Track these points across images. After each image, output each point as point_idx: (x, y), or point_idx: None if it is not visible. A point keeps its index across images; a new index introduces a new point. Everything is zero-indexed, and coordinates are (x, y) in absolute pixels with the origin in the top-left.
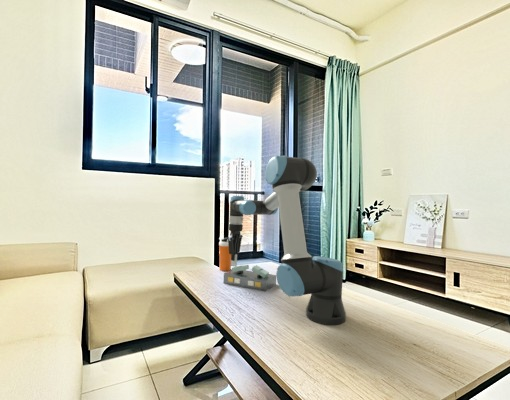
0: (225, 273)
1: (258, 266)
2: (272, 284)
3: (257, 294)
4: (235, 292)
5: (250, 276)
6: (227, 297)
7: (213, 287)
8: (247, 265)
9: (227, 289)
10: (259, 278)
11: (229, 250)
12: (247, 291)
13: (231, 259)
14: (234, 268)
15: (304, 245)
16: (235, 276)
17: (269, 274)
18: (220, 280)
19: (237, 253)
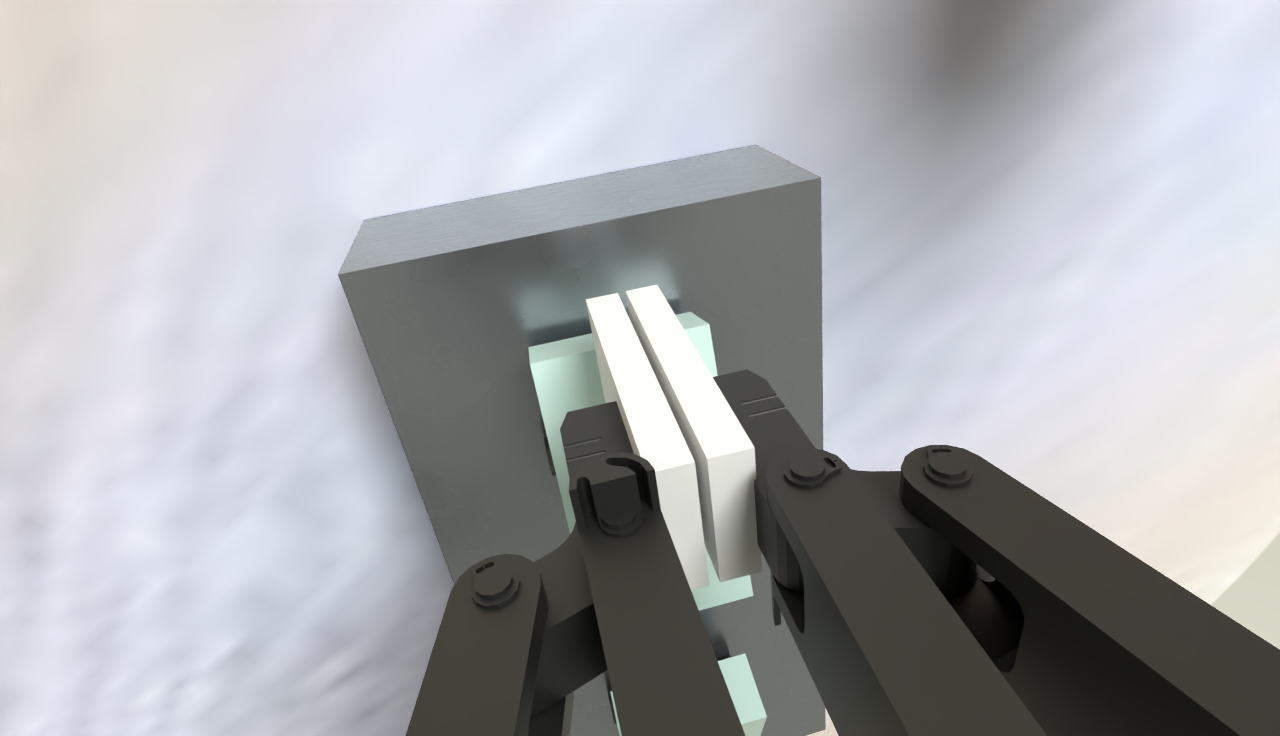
0: (377, 287)
1: (757, 729)
2: None
3: (388, 728)
4: (225, 590)
5: None
6: (13, 650)
7: (55, 271)
8: (713, 602)
9: (208, 465)
10: (573, 731)
11: (425, 723)
12: (374, 633)
13: (562, 439)
14: (544, 420)
15: None
16: (422, 488)
17: (809, 682)
18: (428, 68)
19: (772, 603)
